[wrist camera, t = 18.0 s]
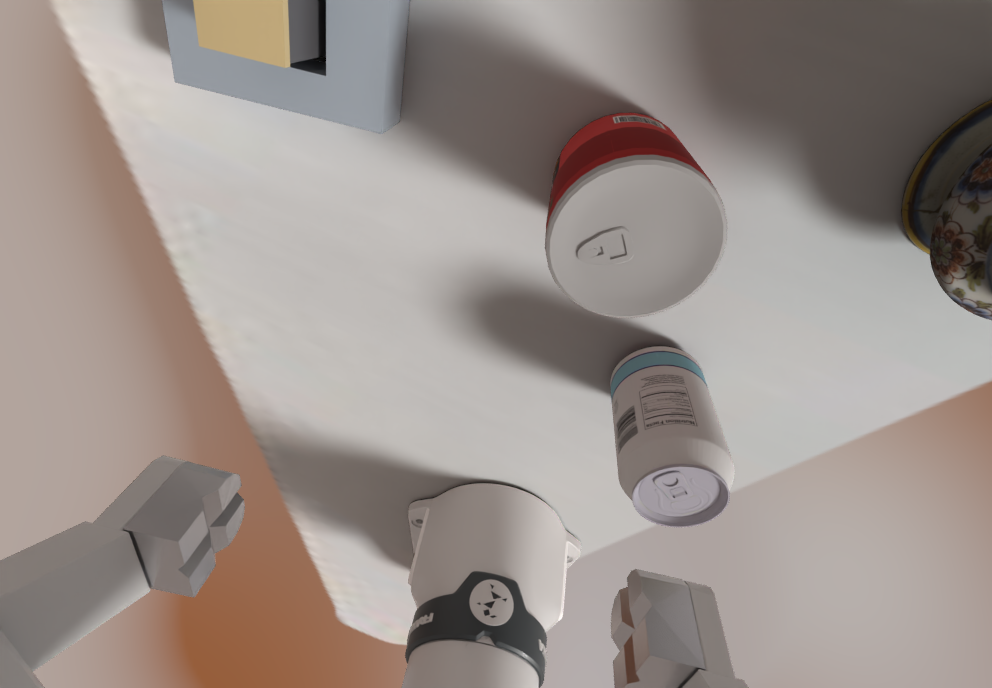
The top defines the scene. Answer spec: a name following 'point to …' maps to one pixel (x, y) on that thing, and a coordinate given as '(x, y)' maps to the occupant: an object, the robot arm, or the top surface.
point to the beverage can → (669, 439)
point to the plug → (263, 29)
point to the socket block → (309, 65)
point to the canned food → (631, 219)
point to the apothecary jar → (956, 210)
